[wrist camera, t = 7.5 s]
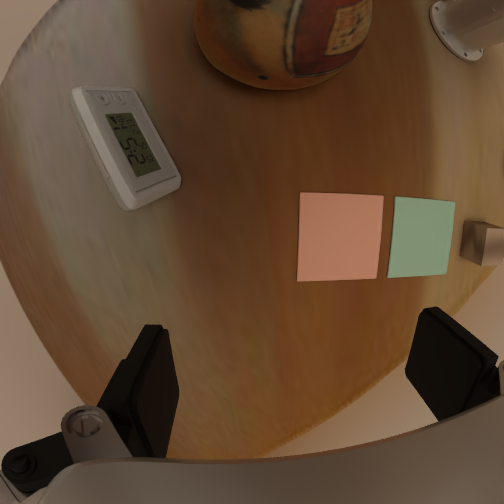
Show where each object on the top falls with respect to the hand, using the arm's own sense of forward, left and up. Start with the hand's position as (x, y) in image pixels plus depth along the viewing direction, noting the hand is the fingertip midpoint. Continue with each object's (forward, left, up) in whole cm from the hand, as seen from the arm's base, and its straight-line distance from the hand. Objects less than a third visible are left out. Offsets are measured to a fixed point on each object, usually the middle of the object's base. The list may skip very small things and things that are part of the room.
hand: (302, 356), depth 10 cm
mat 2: (+2, +26, -29) cm, 39 cm away
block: (+2, +38, -30) cm, 48 cm away
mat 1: (+2, +12, -29) cm, 32 cm away
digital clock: (-11, -15, -30) cm, 35 cm away
